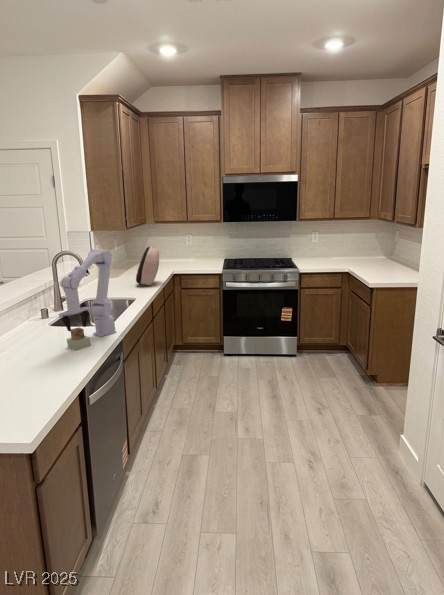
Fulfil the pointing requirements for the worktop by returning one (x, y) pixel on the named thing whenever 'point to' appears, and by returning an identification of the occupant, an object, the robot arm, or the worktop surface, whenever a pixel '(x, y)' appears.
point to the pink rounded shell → (148, 266)
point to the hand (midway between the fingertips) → (76, 328)
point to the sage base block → (78, 343)
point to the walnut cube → (77, 333)
